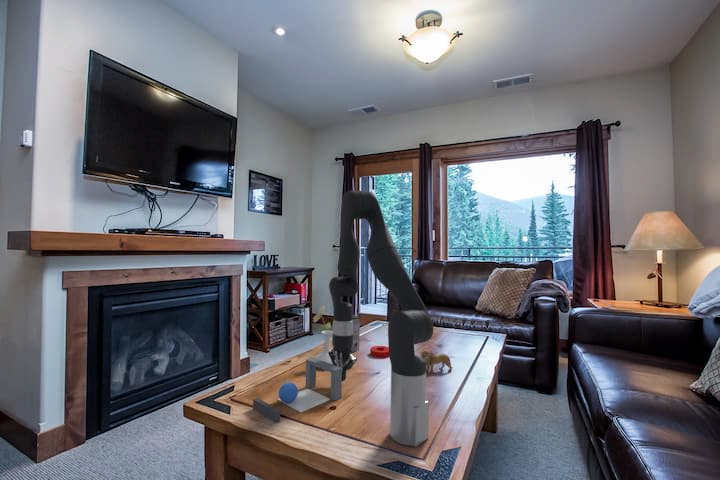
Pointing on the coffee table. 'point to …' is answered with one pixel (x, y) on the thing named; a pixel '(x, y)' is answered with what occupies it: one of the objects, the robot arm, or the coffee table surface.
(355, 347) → the coffee box
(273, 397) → the coffee table surface
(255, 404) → the wall
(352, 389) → the coffee table surface
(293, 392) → the ball
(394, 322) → the robot arm
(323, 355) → the flower in vase
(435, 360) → the lion figurine
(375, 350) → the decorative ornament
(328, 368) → the gray arch
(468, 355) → the coffee table surface
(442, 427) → the coffee table surface
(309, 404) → the white panel
